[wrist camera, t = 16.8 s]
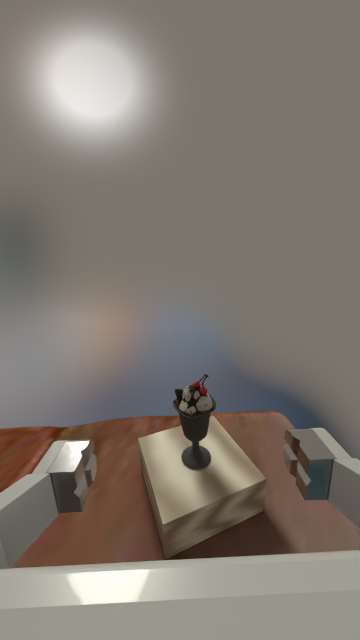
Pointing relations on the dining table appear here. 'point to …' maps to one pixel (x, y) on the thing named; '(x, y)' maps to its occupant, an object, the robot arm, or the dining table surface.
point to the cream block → (198, 487)
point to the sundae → (195, 422)
